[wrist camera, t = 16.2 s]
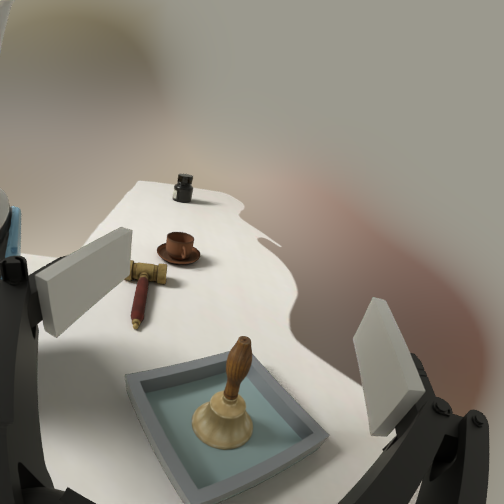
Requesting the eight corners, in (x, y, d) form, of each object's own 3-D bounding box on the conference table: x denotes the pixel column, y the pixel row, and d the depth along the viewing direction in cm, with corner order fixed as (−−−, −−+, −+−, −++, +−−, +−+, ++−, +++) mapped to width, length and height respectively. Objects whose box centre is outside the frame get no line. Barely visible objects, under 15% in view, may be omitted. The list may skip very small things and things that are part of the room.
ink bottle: (176, 196, 136) (180, 172, 132) (193, 200, 136) (197, 175, 132) (169, 200, 127) (173, 174, 123) (187, 204, 127) (191, 178, 123)
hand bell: (186, 443, 29) (198, 361, 23) (196, 396, 37) (211, 309, 31) (252, 453, 30) (291, 377, 24) (253, 406, 38) (285, 323, 31)
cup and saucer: (207, 263, 79) (211, 243, 77) (170, 271, 70) (173, 249, 68) (183, 246, 86) (186, 227, 84) (148, 251, 77) (150, 231, 75)
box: (127, 391, 35) (125, 374, 34) (241, 363, 47) (246, 346, 45) (190, 513, 21) (192, 506, 19) (318, 448, 33) (329, 435, 31)
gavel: (162, 321, 48) (108, 315, 45) (162, 339, 50) (110, 333, 47) (167, 260, 66) (126, 256, 63) (166, 277, 68) (126, 272, 65)
